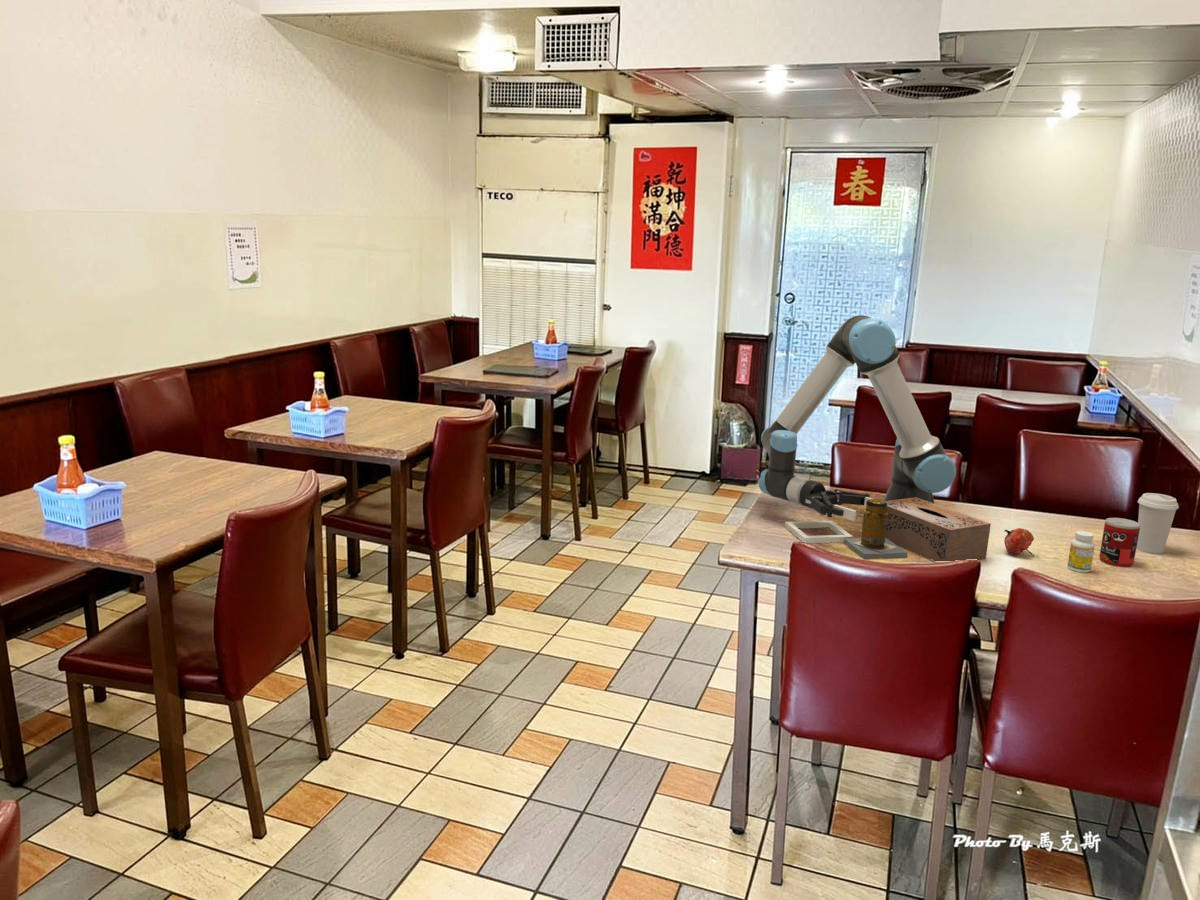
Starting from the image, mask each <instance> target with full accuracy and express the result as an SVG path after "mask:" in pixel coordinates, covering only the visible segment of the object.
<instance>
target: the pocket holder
mask: <svg viewBox="0 0 1200 900" xmlns="http://www.w3.org/2000/svg"><path fill="white" fill-rule="evenodd" d="M819 527H820V528H819ZM822 527H824V528H822ZM825 527H829V528H830V529H829V528H828V529H829V530H831V531H832V532H833V531H834V532H833V533H834V534H829V535H825V534H824V535H807V534H806V533H805V532H803V531H802V529H826V528H825ZM784 528H785V529H786V528H787V529H788V530H787V529H786V530H787V531H788V532H790V531H791V532H792V533H793V534H794V535H796V536H797V537H798V538H799V539H800V540H802V542H801V543H803V542H806V544H831V542H832V543H833V544H834V543H837V544H838V542H839V543H844V539H853V538H854V536H853V535H852V534H850V533H849V532H848V531H846V530H845V529H844V528H843V527H841V526H840V525H838V524H837V523H835V522H834V521H833V520H808V521H807V520H806V521H805V520H804V521H785V522H784ZM798 528H800V529H798ZM791 532H790V533H791ZM792 533H791V534H792ZM793 534H792V535H793ZM794 535H793V536H794ZM796 536H795V537H796ZM797 537H796V538H797ZM798 538H797V539H798ZM799 539H798V540H799ZM800 540H799V541H800Z"/></svg>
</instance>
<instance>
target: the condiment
mask: <svg viewBox="0 0 1200 900" xmlns="http://www.w3.org/2000/svg"><path fill="white" fill-rule="evenodd" d="M883 500H884V499H877V498H872V499H869V500H867V502H866V507H865V509H864V511H863V514H862V526H861V536H860V538H861V541H859V542H855V544H857V545H861V546H863V547H867V548H870V549H873V550H877V551H880V552H882V551H887V550H890V549H892V548H895V546H892V545H889V544H886V543H885V534H886V524H887V515H888V513H887V502H885V501H883Z"/></svg>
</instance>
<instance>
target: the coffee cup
mask: <svg viewBox="0 0 1200 900" xmlns="http://www.w3.org/2000/svg"><path fill="white" fill-rule="evenodd" d="M1137 503H1138V504H1139V505H1138V519H1137V523H1139V524H1140V531H1139V537H1138V542H1137V548H1136V550H1139V551H1140V552H1141V551H1142V552H1144V553H1148V554H1156V555H1159V554H1164V551H1165V548H1166V545H1167V541H1168V539H1169V535H1170V531H1171V529H1172V524H1173V521H1174V518H1175V514H1176V511H1177V510H1178V509H1179V508H1180V507H1179V503H1178V502H1177V499H1176V497H1173V496H1171V495H1167V494H1163V493H1153V492H1146V493H1143V494H1142V495H1141V496H1140V497H1139V498H1138V500H1137Z"/></svg>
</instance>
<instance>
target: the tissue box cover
mask: <svg viewBox="0 0 1200 900" xmlns="http://www.w3.org/2000/svg"><path fill="white" fill-rule="evenodd" d="M885 502H887V513H888V515H887V524H886V534H885V538H887V539H888V540H890V541H891V542H893V543H894V544H896V545H897V546H899V547H900V548H901V549H903V550H905V551H908V552H911V553H913V554H916V555H917V554H918V556H920V555H921V556H920V557H922V556H923V557H922V558H924V557H926V558H925V559H927V558H929V559H933V560H934V561H955V560H966V559H977V560H979V561H983V560H986V559H987V552H988V546H989V538H990V533H991V523H989V522H988V521H984V520H982V519H979V518H976V517H973V516H970V515H967V514H965V513H962V512H959V511H956V510H953V509H952V508H951V509H950V508H947V507H945V506H942V505H940V504H937V503H935V502H934V503H935V504H934V503H931V502H928V501H926V500H923V499H920V498H917V497H914V498H906V499H899V500H891V501H885ZM929 559H928V560H929ZM934 561H933V562H934Z"/></svg>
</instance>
